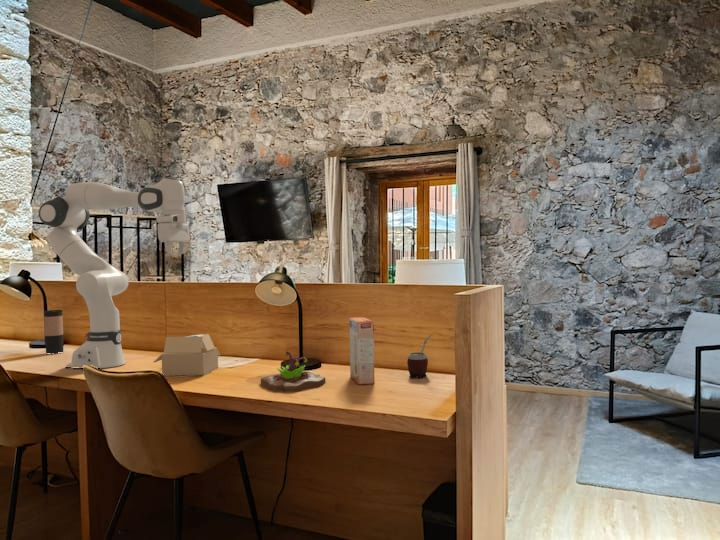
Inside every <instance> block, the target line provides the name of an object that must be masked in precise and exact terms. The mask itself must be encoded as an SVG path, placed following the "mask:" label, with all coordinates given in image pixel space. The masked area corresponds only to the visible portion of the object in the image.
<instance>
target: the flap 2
mask: <svg viewBox="0 0 720 540" xmlns="http://www.w3.org/2000/svg"><path fill="white" fill-rule="evenodd" d="M200 337H203V339H202V343H203V345H204V347H205V349H206V351H209V350H211V349H213V348H215V347H216V346H215V345H214V343H213V340H212V338H211V335H210V336H209V333H206V334H203V336H200Z"/></svg>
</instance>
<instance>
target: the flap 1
mask: <svg viewBox="0 0 720 540" xmlns="http://www.w3.org/2000/svg"><path fill="white" fill-rule="evenodd" d="M202 339H203V337H186V336H166V338H165V341H164V349H163V352H164V353H200V352H201V346H202Z"/></svg>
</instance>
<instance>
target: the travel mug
mask: <svg viewBox="0 0 720 540" xmlns="http://www.w3.org/2000/svg"><path fill="white" fill-rule="evenodd" d="M43 317H44V318H43V319H44V320H43V321H44V323H43V324H44V325H43V326H44V344H45V353H58V352H63V353H64V324H63V323H64V321H63V309H53V310H50V309H49V310H44V311H43Z"/></svg>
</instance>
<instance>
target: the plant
mask: <svg viewBox="0 0 720 540" xmlns="http://www.w3.org/2000/svg"><path fill="white" fill-rule="evenodd" d="M284 356H285V357H289V364H287V365H286V366H283V365H282V366H281V368H282V369H281V368H277V367H276V370H277V371H278V372H280V373H276V374H275V373H274V374H272V375H268V376H263V377H261V378H260V385H261V386H263V387H265V388H267V389H268V391H273V392H284V393H296V392H302V391H303V390H308V389H313V388H319V387H322V386H323V385H324V384H326V377H325V376H322V375H320V374H318V373H317V374H316V373H313V372H310V371H306V370H305V367H306V365H301V366H300V363H299V362H300V361H301V360H302V361H303V362H304V363H308V359H307V358H306V357H299V358H298V359H297V358H295V359H293V355H292V353H291V352H290V351H288V350H287V351H285V352H284ZM298 366H299V367H298ZM297 367H298V368H297Z"/></svg>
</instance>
